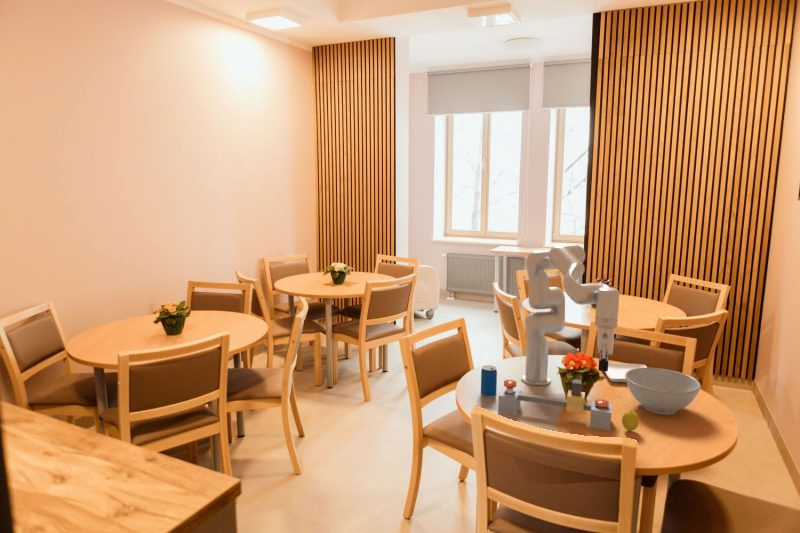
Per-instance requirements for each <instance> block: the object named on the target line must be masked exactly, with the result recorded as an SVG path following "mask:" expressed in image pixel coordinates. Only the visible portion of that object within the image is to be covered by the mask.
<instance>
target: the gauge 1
mask: <svg viewBox="0 0 800 533" xmlns="http://www.w3.org/2000/svg"><path fill="white" fill-rule="evenodd" d="M503 387H505V388H507V392H506V394H509V395H513V389H515V388H516V387H517V381H516V380H513V379H505V380H503Z"/></svg>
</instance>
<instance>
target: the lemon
mask: <svg viewBox="0 0 800 533" xmlns="http://www.w3.org/2000/svg"><path fill="white" fill-rule="evenodd" d="M621 418H622V420H621V422H622V426H623V428H624V429H626V430H627V431H628V432H631V431H632V432H633V431H634V430H636V429H637V428H638V427H639V422H640V420H639V416H638V414H637V413H636V412H635V411H633V410H632V409H630V410H627V411H625V412H624V413H623V415H622V417H621Z"/></svg>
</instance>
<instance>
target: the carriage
mask: <svg viewBox="0 0 800 533" xmlns="http://www.w3.org/2000/svg"><path fill="white" fill-rule="evenodd" d="M582 382H583V381H582V380H581V379H574V378H573V379H572V381H571V390H570V389H568V392H567V395H566V400H567V407H565V408H566V409H565V410H566V412H570V413H577V414H582V415H583V414H584V411H585V410H584V403H586V392H584V391H582V385H583V384H582Z"/></svg>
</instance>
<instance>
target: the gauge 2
mask: <svg viewBox="0 0 800 533" xmlns="http://www.w3.org/2000/svg"><path fill="white" fill-rule="evenodd" d="M594 401H595V406H597V407H598V408H601V409H605V408H608V407H609V403H610V402H609V400H606V399H601V398H598V399H595V400H594Z"/></svg>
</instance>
